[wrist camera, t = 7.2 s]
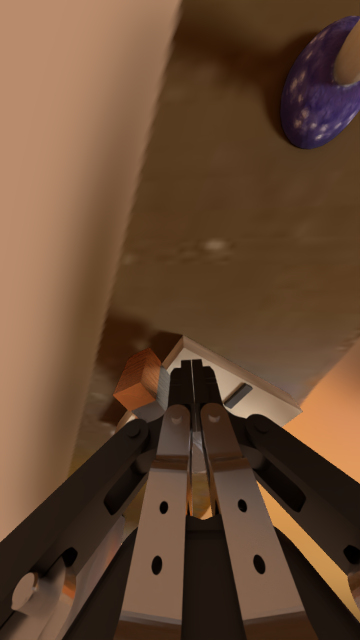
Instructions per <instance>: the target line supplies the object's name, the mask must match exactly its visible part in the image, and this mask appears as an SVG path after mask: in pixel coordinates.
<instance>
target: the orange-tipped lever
mask: <svg viewBox="0 0 360 640" xmlns="http://www.w3.org/2000/svg"><path fill="white" fill-rule="evenodd" d="M169 384H170V374H169V373H168V372H167V371H166V369H165V368H164V367H163V365H162V364H161V361H160V360H159V359H158V357H157V356H156V355H155V354H154V352H153V351H152V350H151V348H150V347H149V348H147V349H145V350H143V351H141V352H139V353H137V354H135V355H133V356H131V357H129V359H128V361H127V363H126V366H125V368H124V370H123V373H122V375H121V377H120V380H119V382H118V384H117V387H116V389H115V391H114V394H113V396H114V397H115V398H116V399H117V400H118V401H119V402H120V403H121V404H122V405H123V406H124V407H125V408H126V409H127V410H128V411H131V412H132V413H133V414H135V415H136V416H137V417H138V418H139V419H143V420H145V421H146V422H147V423H148V422H151V421H153V420H156V419H158V418H160V417H161V416H162V415H163V414H164V413H165V411H166V410H167V406H168V396H169V386H170V385H169ZM227 411H228V410H227ZM229 412H230V411H229ZM230 413H231V412H230ZM231 414H232V413H231ZM195 420H196V413H195ZM192 472H194V473H206V469H205V463H204V457H203V451H202V440H201V431H199V432H197V425H196V432H193V458H192Z"/></svg>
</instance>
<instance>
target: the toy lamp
mask: <svg viewBox="0 0 360 640" xmlns="http://www.w3.org/2000/svg"><path fill="white" fill-rule="evenodd" d="M359 110H360V17H359V16H348V17H345V18H342V19H340V20H338V21H335V22H334V23H332V24H330V25H328V26H327V27H325V28H324V29H323V30H322V31H321V32H320V33H318V34H317V35H316V36H315V37H314V38H313V39H312V40H311V41H310V42H309V43H308V44H307V46H306V47H305V48H304V49H303V51H302V52H301V53H300V55H299V56H298V57H297V59H296V61H295V62H294V64H293V66H292V68H291V69H290V71H289V74H288V76H287V79H286V82H285V85H284V88H283V92H282V97H281V111H280V116H281V122H282V127H283V129H284V133H285V134H286V136H287V137H288V139H289V140H290V141H291V142H292V144H294V145H296V146H297V147H300V148H305V149H312V148H316V147H319V146H322V145H324V144H326V143H327V142H329V141H330V140H332V139H333V138H334V137H336V136H337V135H338V134H339V133H340V132H341V131H342V130H343V129H344V128H345V127H346V126H347V125H348V124H349V123H350V122H351V120H352V119H353V118H354V116H355V115H356V114H357V113H358V111H359Z"/></svg>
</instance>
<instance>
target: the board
mask: <svg viewBox="0 0 360 640" xmlns="http://www.w3.org/2000/svg"><path fill="white" fill-rule="evenodd" d="M192 359H202V363H203V366H210V367H211V368H212V369H213V370H214V372H215V376H216V380H217V383H218V387H219V391H220V395H221V399H222V403H223V405H224V407H225V408H226V410H228V411H230V412H231V413H232V414H233V415H236V416H239V417H243V418H247V417H248V416H250V415H252V414H261V415H264V416H266V417H268V418H269V419H271V420H272V421H273V422H275V423H276V424H277V425H279V426H280V427H282V426H284V425H285V424H287V423H288V422H289V421H291V420H292V419H293V418H295V417H296V416H297V415H299V414H300V413H301V412H303V411H302V410H301V408H300V407H299V406H298V404H297V403H296V402H295V400H294V399H293V398H292V396H291V395H290V394H288V393H286V392H284V391H283V390H281V389H279V388H277V387H275V386H274V385H272V384H270V383H268V382H266V381H265V380H263V379H261V378H259V377H257V376H256V375H254V374H252V373H250V372H248V371H247V370H245V369H243V368H241V367H239V366H238V365H236V364H234V363H232V362H230V361H229V360H227V359H225V358H223V357H222V356H220V355H218V354H216V353H214V352H213V351H211V350H209V349H207V348H205V347H204V346H202V345H200V344H198V343H196V342H195V341H193V340H191V339H189V338H187V337H186V336H184V335H183V336H182V337H181V339H180V340H179V341H178V343H177V344H176V345H175V347H174V348H173V349H172V351H171V352H170V353H169V355H168V356H167V357H166V359H165V360H164V362H163V363H162V365H163V367H164V368H165V369H166V371H167V372H168V373H169V374H170V373H171V372H172V370H173V369H174V368H181V360H191V366H192ZM192 378H193V375H192ZM193 391H194V389H193ZM194 404H195V401H194ZM137 418H138V417H137V416H136V415H135V414H133V413H132V412H131V411H128V410H127V412H126V413H125V414H124V416H123V417H122V418H121V420H120V421H119V423H118V425H117V428H116V431H115V434H116V433H117V432H118V431H119V430H120V429H121V428H122V427H123V426H124V425H125V424H126V423H127V422H129V421H131V420H133V419H137ZM115 434H114V435H115Z"/></svg>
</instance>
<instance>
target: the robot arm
mask: <svg viewBox="0 0 360 640" xmlns="http://www.w3.org/2000/svg"><path fill="white" fill-rule="evenodd" d="M192 375H193V378H192ZM169 385H170V386H169V396H168V406H167V410H166V411H165V413H164V414H163V415H162V416H161V417H160V418H158V419H156V420H153V421H151V422H148V423H147V422H146V421H145V420H143V419H139V418H137V419H133V420H131V421H129V422H127V423H126V424H125V425H124V426H123V427H122V428H121V429H120V430H119V431H118V432H117V433H116V434H115V435H113V436H112V437H111V438H110V439H109V440H108V441H107V442H106V443H105V444H104V445H103V446H102V447H101V448H100V449H99V450H98V451H97V452H96V453H94V454H93V455H92V456H91V457H90V458H89V459H88V460H87V461H86V462H85V463H84V464H83V465H82V466H81V467H80V468H79V469H78V470H76V471H75V472H74V473H73V474H72V475H71V476H70V477H69V478H68V479H67V480H66V481H65V482H64V483H63V484H62V485H61V486H60V487H59V488H57V490H55V491H54V492H53V493H52V494H51V495H50V496H49V497H48V498H47V499H46V500H45V501H44V502H43V503H42V504H41V505H39V506H38V507H37V508H36V509H35V510H34V511H33V512H32V513H31V514H30V515H29V516H28V517H27V518H26V519H25V520H24V521H23V522H21V524H19V525H18V526H17V527H16V528H15V529H14V530H13V531H12V532H11V533H10V534H9V535H8V536H7V537H6V538H5V539H3V540H2V541H1V542H0V640H360V623H359V621H358V620H357V619H356V618H355V617H354V616H353V614H352V613H351V612H350V611H349V609H348V608H347V607H346V606H345V605H344V604H343V602H342V601H341V600H340V599H339V597H338V596H337V595H336V594H335V593H334V592H333V590H332V589H331V588H330V587H329V585H328V584H327V583H326V582H325V581H324V580H323V578H322V577H321V576H320V575H319V573H318V572H317V571H316V570H315V569H314V568H313V566H312V565H311V564H310V563H309V561H308V560H307V559H306V558H305V557H304V555H303V554H302V553H301V552H300V551H299V549H298V548H297V547H296V546H295V545H294V544H293V542H292V541H291V540H290V539H289V538H287V536H285V534H283V533H282V532H281V531H280V530H279V529H277V528H276V527H274V526H273V525H272V522H271V519H270V516H269V514H268V511H267V508H266V506H265V503H264V500H263V498H262V495H261V492H260V490H259V487H258V484H257V482H256V480H257V481H258V482H259V483H260V484H261V485H262V486H263V488H264V489H266V491H268V493H269V494H270V495H271V496H272V497H273V498H274V499H275V500H276V501H277V502H278V503H279V504H280V505H281V506H282V508H283V509H284V510H286V512H287V513H288V514H289V515H290V516H291V517H292V518H293V519H294V520H295V521H296V522H297V523H298V524H299V525H300V526H301V527H302V529H304V531H305V532H306V533H307V534H308V535H309V536H310V537H311V538H312V539H313V540H314V541H315V542H316V543H317V544H318V545H319V546H320V548H322V549H323V551H324V552H325V553H326V554H327V555H328V556H329V557H330V558H331V559H332V560H333V561H334V562H335V563H336V564H337V565H338V566H339V567H340V569H341V570H343V572H344V573H345V574H346V575H347V576H348V582H349V587H350V590H351V593H352V596H353V598H354V601H355V602H356V604H357V607H358V608H359V610H360V484H359V483H358V482H357V481H355V480H354V479H352V478H351V477H350V476H348V475H347V474H345V473H344V472H343V471H341V470H340V469H338V468H337V467H336V466H334V465H333V464H332V463H330V462H329V461H327V460H326V459H325V458H323V457H322V456H320V455H319V454H318V453H316V452H315V451H313V450H312V449H311V448H309V447H308V446H307V445H305V444H304V443H302V442H301V441H300V440H298V439H297V438H295V437H294V436H293V435H291V434H290V433H289V432H287V431H286V430H284V429H283V428H282V427H280V426H279V425H277V424H276V423H275V422H273V421H272V420H271V419H269V418H268V417H266V416H264V415H261V414H252V415H250V416H248V417H247V418H243V417H239V416H236V415H233V414H231V413H230V412H229V411H227V410H226V408H225V407H224V405H223V403H222V399H221V395H220V391H219V387H218V383H217V380H216V376H215V372H214V370H213V369H212V368H211V367H210V366H203V363H202V359H192V366H191V360H181V368H174V369H173V370H172V372H171V373H170V384H169ZM193 389H194V391H193ZM194 401H195V404H194ZM195 413H196V420H195ZM196 425H197V432H199V431H201V440H202V451H203V457H204V463H205V469H206V475H207V481H208V487H209V493H210V502H211V509H212V516H213V517H210V518H208V519H205V520H201V519H198V518H196V517H193V516H192V458H193V432H196ZM147 480H148V481H147ZM146 481H147V486H146V491H145V496H144V501H143V506H142V511H141V516H140V521H139V526H138V527H137V528H136V529H135V530H134V531H133V532H132V533H131V534H130V535H129V536H128V537H127V538H126V540H125V541H124V542H123V543H122V545H121V540H122V535H123V529H124V524H125V519H124V517H123V516H122V514H123V512H124V511H125V510H126V508H127V507H128V505H129V504H130V503H131V501H132V500H133V499H134V497H135V496H136V495H137V493H138V492H139V490H140V489H141V488H142V486H143V485H144V484H145V482H146ZM120 545H121V546H120Z"/></svg>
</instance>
